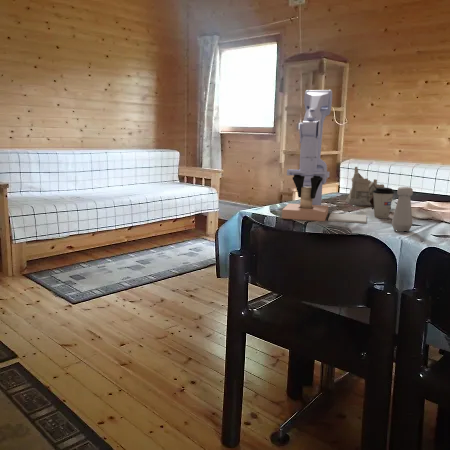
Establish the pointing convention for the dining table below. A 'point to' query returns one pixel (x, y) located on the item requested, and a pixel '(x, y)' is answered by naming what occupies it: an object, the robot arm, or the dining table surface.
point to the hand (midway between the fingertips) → (306, 197)
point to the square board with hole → (305, 212)
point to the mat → (347, 218)
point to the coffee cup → (382, 201)
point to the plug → (306, 198)
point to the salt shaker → (403, 210)
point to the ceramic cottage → (361, 190)
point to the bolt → (373, 201)
